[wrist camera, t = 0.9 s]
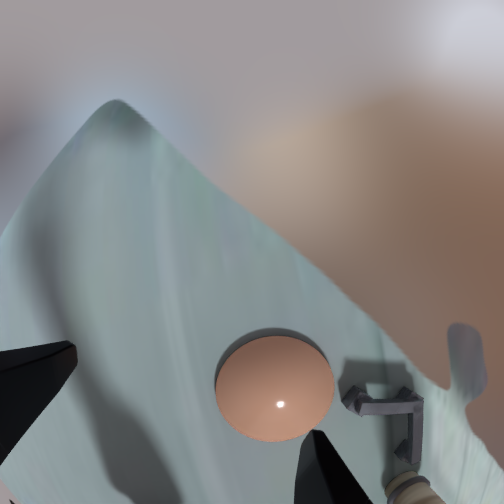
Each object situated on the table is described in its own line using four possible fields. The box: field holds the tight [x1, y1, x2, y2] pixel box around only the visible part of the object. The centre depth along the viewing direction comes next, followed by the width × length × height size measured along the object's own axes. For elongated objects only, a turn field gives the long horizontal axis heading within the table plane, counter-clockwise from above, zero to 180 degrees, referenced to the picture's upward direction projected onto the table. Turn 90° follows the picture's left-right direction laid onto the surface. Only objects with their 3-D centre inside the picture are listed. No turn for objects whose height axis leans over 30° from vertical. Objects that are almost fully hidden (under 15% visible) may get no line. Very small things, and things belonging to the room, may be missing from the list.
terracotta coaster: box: [216, 336, 334, 442], centre depth 23 cm, size 11×11×1 cm
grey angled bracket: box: [341, 386, 424, 465], centre depth 20 cm, size 7×13×3 cm, turn 54°
